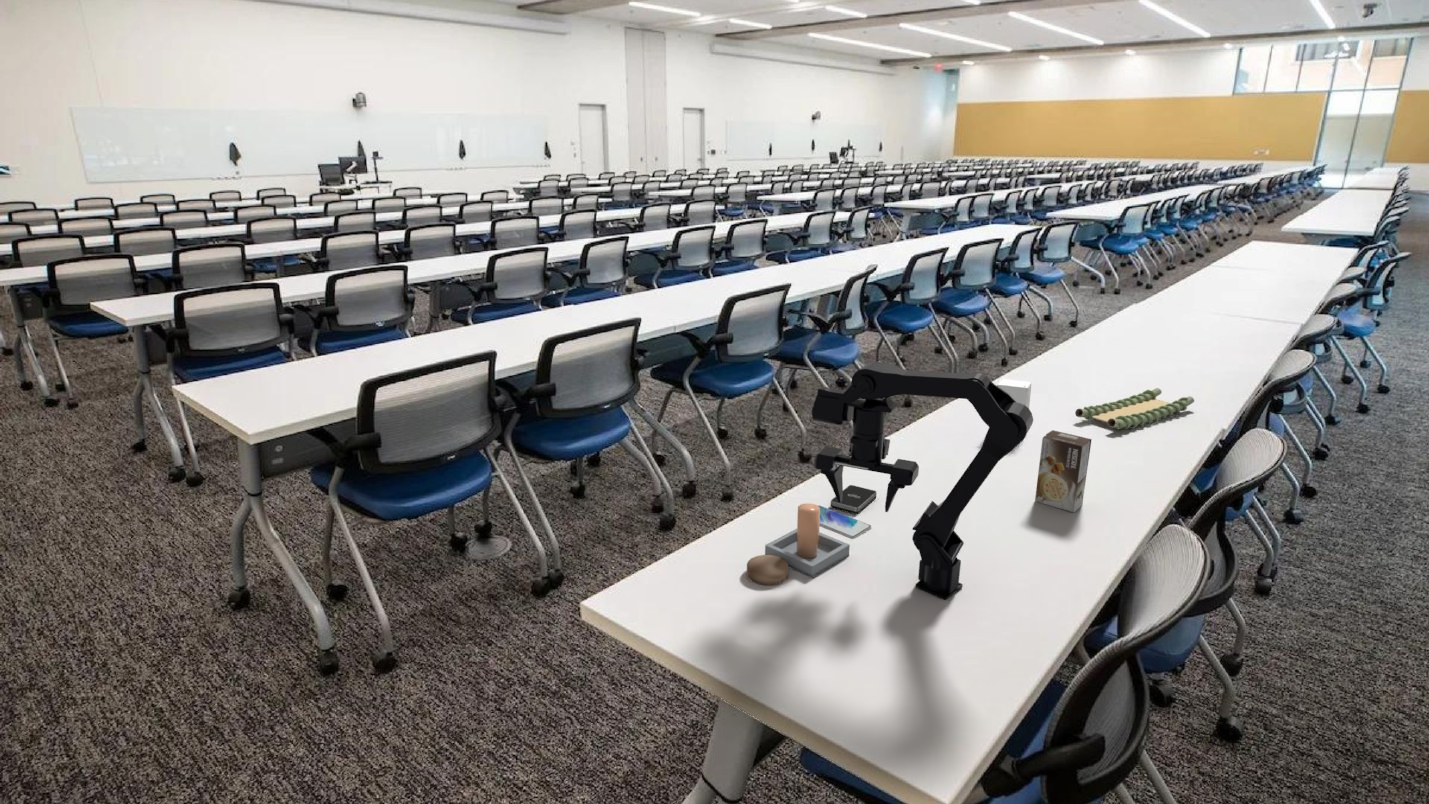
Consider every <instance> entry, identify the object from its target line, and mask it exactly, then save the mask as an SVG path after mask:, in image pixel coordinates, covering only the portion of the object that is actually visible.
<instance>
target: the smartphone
mask: <svg viewBox="0 0 1429 804" xmlns="http://www.w3.org/2000/svg"><path fill="white" fill-rule="evenodd" d="M816 505H817V504H816ZM817 506H819V507H820V526H819V527H823V528H825V529H826V530H827V529H828V530H830V531H832V530H833V532H834V533H837V534H839V533H841V534H840V535H842V536H845V537H847V536H848V537H847V538H849V537H850V539H857V538H859V537H860V536H861V534H862V535H863V534H865V533H866V531H867V532H868V531H870V530H871V529H872V525H871V524H869V523H866V522H863V521H861V520H858V519H856V518H853V517H851V516H848V515H845V514H843V513H840V512H838V511H835V510H833V509H829V508H827V507H825V506H823V505H817Z"/></svg>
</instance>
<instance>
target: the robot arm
mask: <svg viewBox="0 0 1429 804" xmlns="http://www.w3.org/2000/svg"><path fill="white" fill-rule="evenodd" d="M850 383H851V385H850V386H849V387H848V388H847V389H846V390H840V389H834V388H831V387H828V386H821V387H819V388H818V389H817V395H816V397H815V400H814V402H813V406H812V408H811V416H812V417H811V418H812V420H813V422H815V423H822V424H826V425H827V424H828V425H833V426H838V427H845V426H846V424H847V423H851V422H852V429H851V430H852V433H851V437H850V444H851V452H850V456H847V455H844V450H843V448H837V447H830V446H824V447H823V448H822V449H820V451H818V453H817V454H816V455H815V457H814V460H813V461H814V463H813V464H814V465H813V468H814V469H816V470H820V474H821V475H824V476H825V478H826V479H827V481H828V483H829V484H830V486H831V488H832V490H833V492H834V495H835V496H836V498H837V500H838V502H839V503H841V502H842V496H843V490H844V489H843V487H844V486H843V485H844V484H843V472H844V467H848V468H852V469H858V470H864V471H870V472H875V473H881V474H886V475H889V479H890V481H889V482H888V484H887V490H886V496H885V505H884V511H885V513H888V512H889V510H890V508H891V506H892V503H893V501H894V500H895V497H896V495H897V492H898V490H899V489H900V490H901V489H902V490H903V489H905V488H906V486H912V485H914V482H915V481H916V479H917V478H918V476H919V472H920V471H919V470H920V467H919V464H918V463H917V462H916V461H912V460H908V459H901V458H897V460H896V461H895V462H894V464H893V463H888V462H883V460H885V459H886V458H887V456H889V452H890V451H889V450H890V449H889V448H890V444H891V443H890V442H891V439H889V438H885V437H886V434H885V420H886V419H885V418H886V417H885V416H886V413H888V414H891V413H892V412H893V411H894V410H895V409H897V408H898V405H897V404H896V403H895V401H893V400H892V399H891V397H894V396H903V395H904V396H905V395H906V396H919V397H934V398H945V399H946V398H948V399H963V400H964V399H965V400H967V401H968V402H969V403H970V404H971V406H972V407H973V408H974V410H975V412H976V413H977V414H978V416H979V417H980V418H981V420H982V421H983V422H984V423H985V424H986V425H987V427H988V430H987V431H986V434H985V436H984V439H983V442H982V444H981V446H980V449H979V451H978V452H977V453H976V454H975V457H973V459H972V460H971V462H970V464H969V465H968V466H967V468H966V469H965V471H964V472H963V473H962V475H961V476H960V478H959V479H958V480H957V482H956V483H955V484H954V486H953V488H952V489H951V491H950V492H949V494H948V495H947V496H946V497H945V499H944V500H943V501H942V502H941V503H939V504H937V503H936V502H935V501H933V500H932V501H931V502H930V503H929V505H928V506H927V507H926V509H925V510H924V511H923V513H922V515H920V517H919V518H918V520H917V521H916V523H915V524H914V525H913V527H912V529H911V530H912V531H914V532H913V535H912V539H911V540H912V542H913V545H914V546H915V548H916V550H918V551H919V556H920V559H921V560H919V565H918V577H917V578H918V580H919V581H917V582H916V583H915V585H914V586H915V588H917V589H919V590H922V591H924V592H926V593H929V594H932V595H933V596H935V597H938V598H939V599H943V600H947V599H949V598H950V597H951V596H952V595H954V594H955V593H957V592H958V591H959V590H961V589H962V588H963V583H962V582H960V574H961V566H962V565H961V564H962V560H961V559H958V555H959V553H960V551H961V549H962V547H963V546H964V544H965V542H964V541H963V540H962V539H961V538H960V536H959V535H958V534H957V532H956V531H955V528H956V526H957V524H958V521H959V519H960V516H961V514H962V513H963V511H964V509H965V508H966V507H967V505H968V504H969V502H970V501H971V499H973V497H974V496H975V495H976V493H977V492H978V491H979V489H980V488H981V486H982V485H983V483H984V482H985V480H986V479H988V476H989V475H990V474H991V473H992V471H993V470H994V468H995V467H996V465H997V464H998V463H999V462H1000V461H1001V460H1002V459H1003V458H1005V456H1007V455H1008V454H1010V453H1011V452H1012V451H1013V450H1014V449H1015V448H1016V447H1018V446H1019V444H1020V443H1021V442H1023V440H1024V439H1025V438H1026V436H1027V434H1028V432H1029V431H1030V429H1031V428H1032V425H1033V423H1034V416H1033V414H1032V411H1031V410H1030V407H1029V408H1027V407H1026V406H1025V405H1023V404H1021V403H1017V402H1016V401H1015V400H1014V399H1013V398H1012V397H1011V396H1010V395H1009V394H1008V393H1006V392H1005V391H1004V390H1002V389H1001V388H999V387H998V386H997V384H995V383H994V382H993V381H992V380H991V379H990V378H989V377H988V376H987V375H985V374H983V373H980V372H974V373H963V372H961V373H959V372H942V371H926V370H925V371H924V370H909V369H903V368H902V367H899V366H896V365H894V364H890V363H885V362H882V361H870V362H868V363H866V364H865V365H864V366H862V367H860V368H859V369H858V370H856V371H855V372H854V374H853V375H852V377H851V382H850Z"/></svg>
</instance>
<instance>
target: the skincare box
mask: <svg viewBox="0 0 1429 804" xmlns="http://www.w3.org/2000/svg"><path fill="white" fill-rule="evenodd" d="M996 386H998V387H999V388H1001V389H1002V390H1004V391H1005V392H1006V393H1008V394H1009V395H1010V396H1011V397H1012V398H1013V399H1014V400H1015V401H1016V402H1017V403H1021V404H1023V405H1025V406H1026V407H1027V408H1029V409H1030V403H1031V394H1032V382H1031V381H1023V380H1014V379H1007V378H1002V379H1001V380H1000V381H999V382H998V383H997V384H996Z"/></svg>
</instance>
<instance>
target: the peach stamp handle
mask: <svg viewBox="0 0 1429 804" xmlns="http://www.w3.org/2000/svg"><path fill="white" fill-rule="evenodd" d="M819 506H820V505H819ZM819 506H817V504H815V503H808V502H807V503H802V504H800V505H798V506H797V520H796V521H797V522H796V523H797V525H796V527H797V528H796V529H797V555H798V556H799V557H801V558H806V559H811V558H815V557H817V556H818V552H819V532H820V527H821V526H820V507H819Z"/></svg>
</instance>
